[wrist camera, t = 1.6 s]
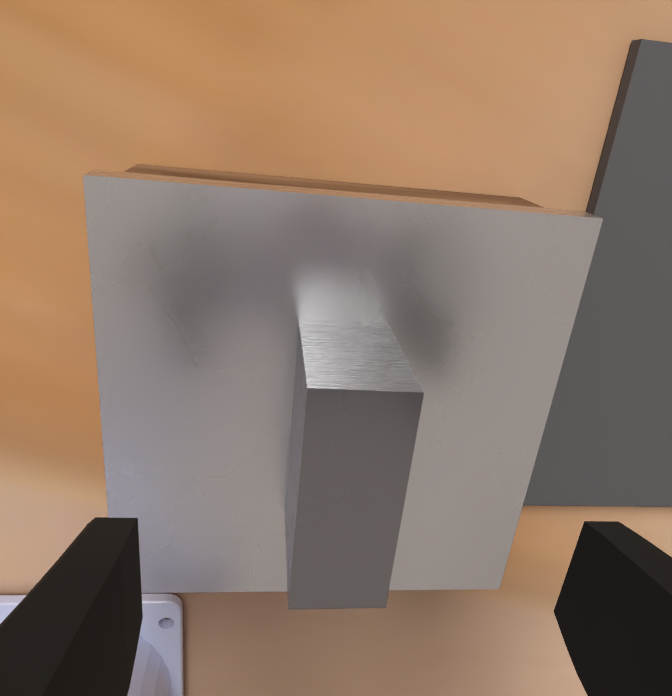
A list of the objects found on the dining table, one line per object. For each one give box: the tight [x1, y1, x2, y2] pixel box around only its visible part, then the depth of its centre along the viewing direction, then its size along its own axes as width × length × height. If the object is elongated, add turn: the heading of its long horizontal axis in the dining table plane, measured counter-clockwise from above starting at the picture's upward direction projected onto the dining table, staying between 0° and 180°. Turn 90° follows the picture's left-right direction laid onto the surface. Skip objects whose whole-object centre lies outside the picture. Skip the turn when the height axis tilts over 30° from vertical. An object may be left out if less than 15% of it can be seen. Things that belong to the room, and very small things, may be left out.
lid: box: [83, 170, 603, 609], centre depth 13 cm, size 10×10×5 cm
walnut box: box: [124, 164, 544, 208], centre depth 15 cm, size 10×10×3 cm
